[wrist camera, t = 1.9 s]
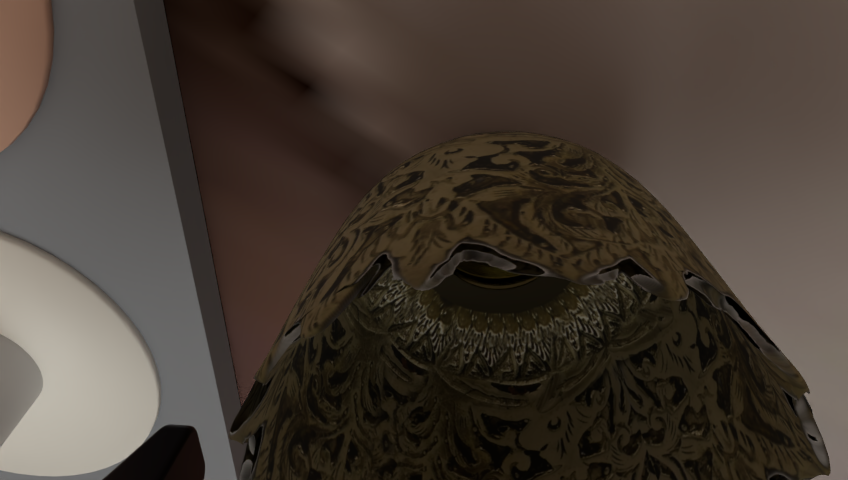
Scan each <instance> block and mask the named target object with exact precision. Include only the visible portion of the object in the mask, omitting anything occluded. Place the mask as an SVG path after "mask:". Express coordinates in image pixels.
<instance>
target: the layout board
mask: <svg viewBox="0 0 848 480" xmlns="http://www.w3.org/2000/svg"><path fill="white" fill-rule="evenodd" d="M240 408H241V405H240V399H239V394H238V389H237V384H236V379H235V373H234V368H233V363H232V358H231V353H230V347H229V342H228V337H227V332H226V326H225V321H224V316H223V311H222V306H221V300H220V295H219V290H218V285H217V280H216V274H215V269H214V264H213V259H212V253H211V248H210V243H209V238H208V233H207V227H206V222H205V217H204V212H203V207H202V201H201V196H200V191H199V186H198V181H197V175H196V170H195V165H194V160H193V154H192V149H191V144H190V139H189V134H188V128H187V123H186V118H185V113H184V108H183V102H182V97H181V92H180V87H179V81H178V76H177V71H176V66H175V61H174V55H173V50H172V45H171V40H170V35H169V29H168V24H167V19H166V14H165V9H164V3H163V0H0V480H102V479H103V478H104V477H105V476H107V475H108V474H109V473H110V472H111V471H112V470H113V469H115V468H116V467H117V466H118V465H119V464H120V463H121V462H122V461H124V460H125V459H126V458H127V457H128V456H129V455H130V454H132V453H133V452H134V451H135V450H136V449H137V448H138V447H139V446H141V445H142V444H143V443H144V442H145V441H146V440H147V439H149V438H150V437H151V436H152V435H153V434H154V433H155V432H156V431H158V430H159V429H160V428H161V427H163V426H165V425H169V424H175V425H189V426H193V427H194V428H195V429H196V430H197V433H198V437H199V441H200V445H201V449H202V453H203V457H204V461H205V476H204V480H239V475H240V469H241V465H242V461H243V457H244V454H245V449H246V445H247V443H244V445H242V444H241V443H239V442H237V441H234V440H231V439H230V438H229V433H230V429H231V426H232V423H233V421H234V419H235V417H236V415H237V414H238V412H239V410H240Z"/></svg>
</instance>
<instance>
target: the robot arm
mask: <svg viewBox="0 0 848 480" xmlns="http://www.w3.org/2000/svg"><path fill="white" fill-rule="evenodd" d="M204 476H205V461H204V457H203V453H202V449H201V445H200V441H199V437H198V433H197V430H196V429H195V428H194V427H193V426H189V425H175V424H169V425H165V426H163V427H161V428H160V429H159V430H158V431H156V432H155V433H154V434H153V435H152V436H151V437H150V438H149V439H147V440H146V441H145V442H144V443H143V444H142V445H141V446H139V447H138V448H137V449H136V450H135V451H134V452H133V453H132V454H130V455H129V456H128V457H127V458H126V459H125V460H124V461H122V462H121V463H120V464H119V465H118V466H117V467H116V468H115V469H113V470H112V471H111V472H110V473H109V474H108V475H107V476H105V477H104V478H103V479H102V480H204Z"/></svg>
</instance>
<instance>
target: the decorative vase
mask: <svg viewBox="0 0 848 480" xmlns="http://www.w3.org/2000/svg"><path fill="white" fill-rule="evenodd" d="M254 379H255V380H256V381H255V383H254V385H253V387H252V389H251V391H250V393H249V395H248V397H247V398H246V400H245V402H244V403H243V405H242V407H241V408H240V410H239V412H238V414H237V415H236V417H235V419H234V421H233V423H232V426H231V429H230V433H229V438H230V439H231V440H234V441H237V442H239V443H241V444H242V445H244V443H247V445H246V449H245V454H244V457H243V461H242V465H241V469H240V475H239V480H811V479H812V478H814V477H815V476H818V475H828V476H829V474H830V463H829V456H828V453H827V450H826V447H825V444H824V441H823V438H822V436H821V434H820V431H819V429H818V427H817V424H816V422H815V420H814V418H813V414H812V409H811V407H810V405H809V403H808V401H807V399H806V397H805V396H804V393H805V392H807V393H810V391H809V388H808V386H807V384H806V382H805V380H804V379H803V377H802V376H801V374H800V373H799V372H798V370H797V369H796V368H795V367H794V366H793V364H792V363H791V362H790V361H789V360H788V359H787V357H786V356H785V355H784V354H783V353H782V352H781V350H780V349H779V348H778V347H777V346H776V345H775V344H774V343H773V342H772V341H771V340H770V338H769V337H768V336H767V335H766V333H765V332H764V331H763V330H762V329H761V327H760V326H759V325H758V324H757V323H756V321H755V320H754V319H753V317H752V316H751V315H750V314H749V312H748V311H747V310H746V309H745V307H744V306H743V305H742V303H741V302H740V301H739V300H738V298H737V297H736V296H735V294H734V293H733V292H732V291H731V289H730V288H729V287H728V285H727V284H726V283H725V282H724V280H723V279H722V278H721V276H720V275H719V274H718V272H717V271H716V270H715V269H714V267H713V266H712V265H711V263H710V262H709V261H708V260H707V258H706V257H705V256H704V255H703V253H702V252H701V251H700V249H699V248H698V247H697V246H696V244H695V243H694V242H693V241H692V239H691V238H690V237H689V236H688V234H687V233H686V232H685V231H684V229H683V228H682V227H681V226H680V224H679V223H678V222H677V221H676V220H675V219H674V218H673V216H672V215H671V214H670V213H669V212H668V211H667V210H666V209H665V208H664V207H663V205H662V204H661V203H660V202H659V201H658V200H657V199H656V198H655V197H654V196H653V195H652V194H651V193H650V192H649V191H648V190H647V189H646V188H644V187H643V186H642V185H641V184H640V183H639V182H638V181H637V180H635V179H634V178H633V177H632V176H630V175H629V174H628V173H627V172H625V171H624V170H623V169H621V168H620V167H618V166H617V165H615V164H614V163H612V162H611V161H609V160H607V159H606V158H604V157H602V156H601V155H599V154H598V153H596V152H593V151H591V150H589V149H587V148H585V147H582V146H580V145H578V144H575V143H572V142H569V141H566V140H563V139H559V138H555V137H550V136H545V135H541V134H535V133H525V132H489V133H480V134H474V135H469V136H465V137H460V138H457V139H454V140H451V141H448V142H444V143H441V144H438V145H436V146H434V147H431V148H429V149H427V150H425V151H423V152H420V153H418V154H417V155H415V156H413V157H412V158H410V159H408V160H406V161H405V162H403V163H402V164H400V165H399V166H398V167H396V168H395V169H394V170H392V171H391V172H390V173H388V174H387V175H386V176H385V177H384V178H383V179H382V180H381V181H380V182H379V183H378V184H377V185H376V186H375V187H374V188H372V189H371V190H370V191H369V192H368V193H367V194H366V195H365V196H364V198H363V199H362V200H361V201H360V203H359V204H358V205H357V206H356V207H355V209H354V210H353V211H352V213H351V214H350V215H349V217H348V218H347V219H346V220H345V222H344V223H343V225H342V226H341V228H340V230H339V231H338V233H337V234H336V236H335V237H334V239H333V241H332V242H331V244H330V245H329V247H328V249H327V250H326V252H325V254H324V255H323V257H322V259H321V260H320V262H319V264H318V265H317V267H316V269H315V271H314V272H313V274H312V276H311V278H310V279H309V281H308V283H307V285H306V286H305V288H304V290H303V292H302V293H301V295H300V297H299V299H298V301H297V302H296V304H295V306H294V308H293V310H292V311H291V313H290V315H289V317H288V319H287V320H286V322H285V324H284V326H283V328H282V330H281V331H280V333H279V335H278V337H277V339H276V340H275V342H274V344H273V346H272V348H271V350H270V351H269V353H268V355H267V357H266V359H265V360H264V362H263V363H262V365H261V367H260V368H259V370H258V371H257V373H256V375H255V377H254Z"/></svg>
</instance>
